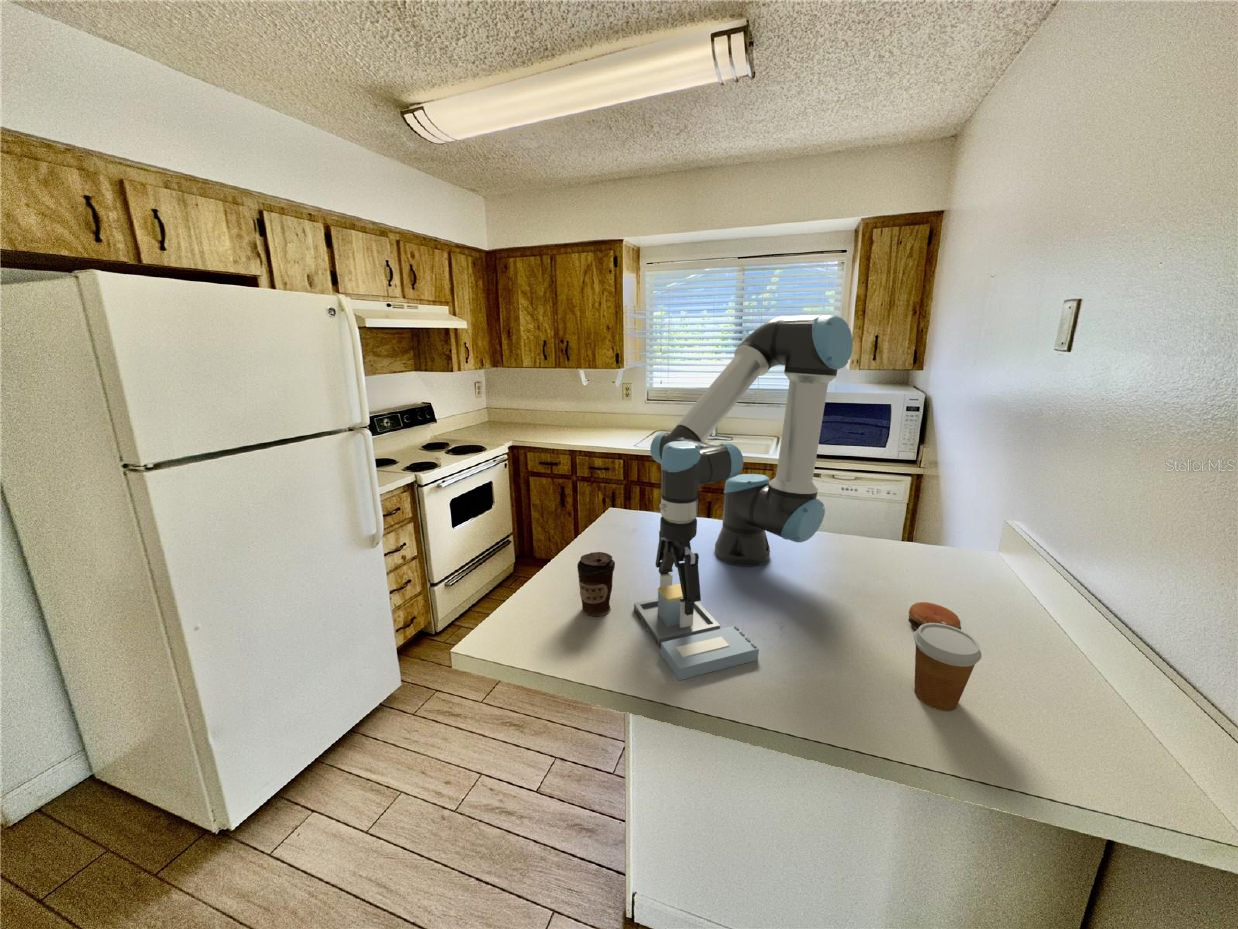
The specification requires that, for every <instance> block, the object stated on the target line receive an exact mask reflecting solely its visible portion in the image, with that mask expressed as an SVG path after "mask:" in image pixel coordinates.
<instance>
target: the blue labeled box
mask: <svg viewBox="0 0 1238 929" xmlns="http://www.w3.org/2000/svg"><path fill="white" fill-rule="evenodd" d="M759 653H760V648H759V647H758V646H757V645H756V644H755V643H754V642H753V640H751V639H750V638H749V637H748V636H747V635H746V634H745V633H744V632H743V631H742V629H740V627H739V626H737V625H732V626H727V627H722V628H720V629H718V630H713V631H709V632H705V633H700V634H696V635H692V636H687V637H683V638H679V639H674V640H670V641H666V642H661V646H660V654H661V656H662V657H663V659H664V661H665V662H666V663H667V664H668V666H669V668H670V670H671V671H672V672H673V674H674V675H675V677H676V678H677V680H678V681H681V680H685V679H689V678H692V677H697V676H700V675H705V674H709V673H712V672H716V671H719V670H725V669H727V668H732V667H735V666H740V665H742V664H746V663H750V662H754V661H758V660H759Z"/></svg>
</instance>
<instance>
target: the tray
mask: <svg viewBox="0 0 1238 929" xmlns="http://www.w3.org/2000/svg"><path fill="white" fill-rule="evenodd" d="M633 611H634V613H635V614H636V615H637V617H638V618H639V620H640V622H642V624H643V626H644V627H645V629H646V630H647V632H648V633H649V634H650V636H651V638H652V639H653V640H654V642H655V643H656V645H657V646H658V647H660V648H661V642H666V641H670V640H674V639H679V638H683V637H687V636H692V635H696V634H700V633H705V632H709V631H713V630H718V629H721V624H720V623H719V622H718V621H717V620H716V619H715V618H714V617H713V616H712V614H710V613H709V612H708V610H707V609H705V607H704V606H703V605H702V603H700V601H698V602H694V612H693V625H692V626H688V627H683V628H681V627H680V624H678V625H674V626H669V627H667V626H666V625H665V623H664V622H663V621H662V619H661V618H660V617H659V615H658V597H656V598H652V599H648V600H642V601H638V602H637V601H636V602H634V603H633Z"/></svg>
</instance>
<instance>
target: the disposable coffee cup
mask: <svg viewBox="0 0 1238 929" xmlns="http://www.w3.org/2000/svg"><path fill="white" fill-rule="evenodd" d="M913 640H914V643H915V656H914V659H915V660H914V662H915V663H914V690H913V691H914V694H915V697H917V699H918V700H919V701H920V702H921V703H923V704H924V705H925V706H928V707H930V708H932V709H935V710H938V711H941V712H950V711H955V710H956V709H957V707H958V704H959V702H960V700H961V698H962V696H963V693H964V690H965V688H966V686H967V684H968V682H969V679H970V677H971V675H972V673H973V670H974V668H975V666H976V664H977V663H979V662H980V661H981V659H982V656H983V655H982V652H981V650H980V645H979V642H978V641H977V639H975V638H974V637H973V636H972V635H970V634H969V633H968V632H965V631H963V630H962V629H961V630H960V629H957V628H955V627H952V626H949V625H945V624H940V623H926V624H923V625H921V626H920V627H919V628H918V630H916V629H915V631H914V633H913Z"/></svg>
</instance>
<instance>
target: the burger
mask: <svg viewBox="0 0 1238 929" xmlns="http://www.w3.org/2000/svg"><path fill="white" fill-rule="evenodd" d="M908 622H909V624H910V625H911V626H912V627H913V629H915V631H916V630H918V628H919V627H920V626H921V625H923V624H926V623H940V624H945V625H949V626H952V627H955V628H957V629H960V630H962V625H961V624H962V623H961V620H960V618H959V616H958V615H957V614H956V613H955V612H954V611H952V610H951V609H949V608H947V607H944V606H942V605H940V604H936V603H933V602H932V603H931V602H925V601H923V602H916V603H914V604H912V605H911V606H910V608H909V610H908Z"/></svg>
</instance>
